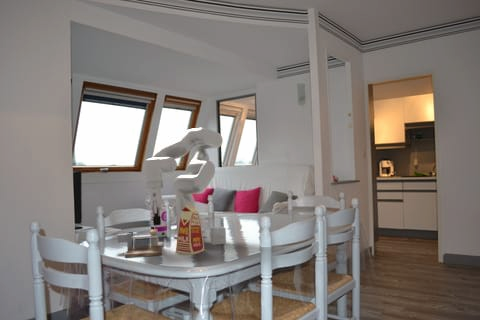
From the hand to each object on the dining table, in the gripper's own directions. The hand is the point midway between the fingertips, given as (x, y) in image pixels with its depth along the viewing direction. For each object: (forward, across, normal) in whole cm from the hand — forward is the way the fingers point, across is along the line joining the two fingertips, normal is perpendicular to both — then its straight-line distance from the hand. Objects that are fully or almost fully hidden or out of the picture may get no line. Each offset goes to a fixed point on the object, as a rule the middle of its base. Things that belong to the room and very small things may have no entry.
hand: (157, 224), depth 174 cm
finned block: (+7, -12, +6) cm, 15 cm away
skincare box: (+10, -6, -27) cm, 29 cm away
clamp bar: (+4, -11, +8) cm, 14 cm away
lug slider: (+7, -11, +1) cm, 13 cm away
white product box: (+11, +23, +1) cm, 26 cm away
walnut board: (+8, -12, +5) cm, 15 cm away
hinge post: (+7, -12, +11) cm, 17 cm away
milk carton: (+9, -20, -14) cm, 26 cm away
